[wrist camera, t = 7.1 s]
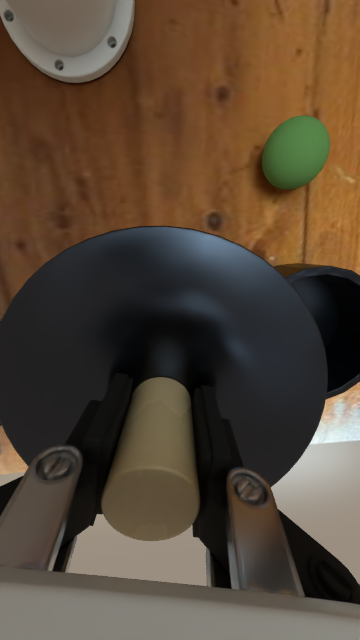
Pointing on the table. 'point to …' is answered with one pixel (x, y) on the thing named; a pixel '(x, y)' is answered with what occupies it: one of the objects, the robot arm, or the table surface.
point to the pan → (332, 317)
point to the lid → (162, 363)
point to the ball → (295, 152)
